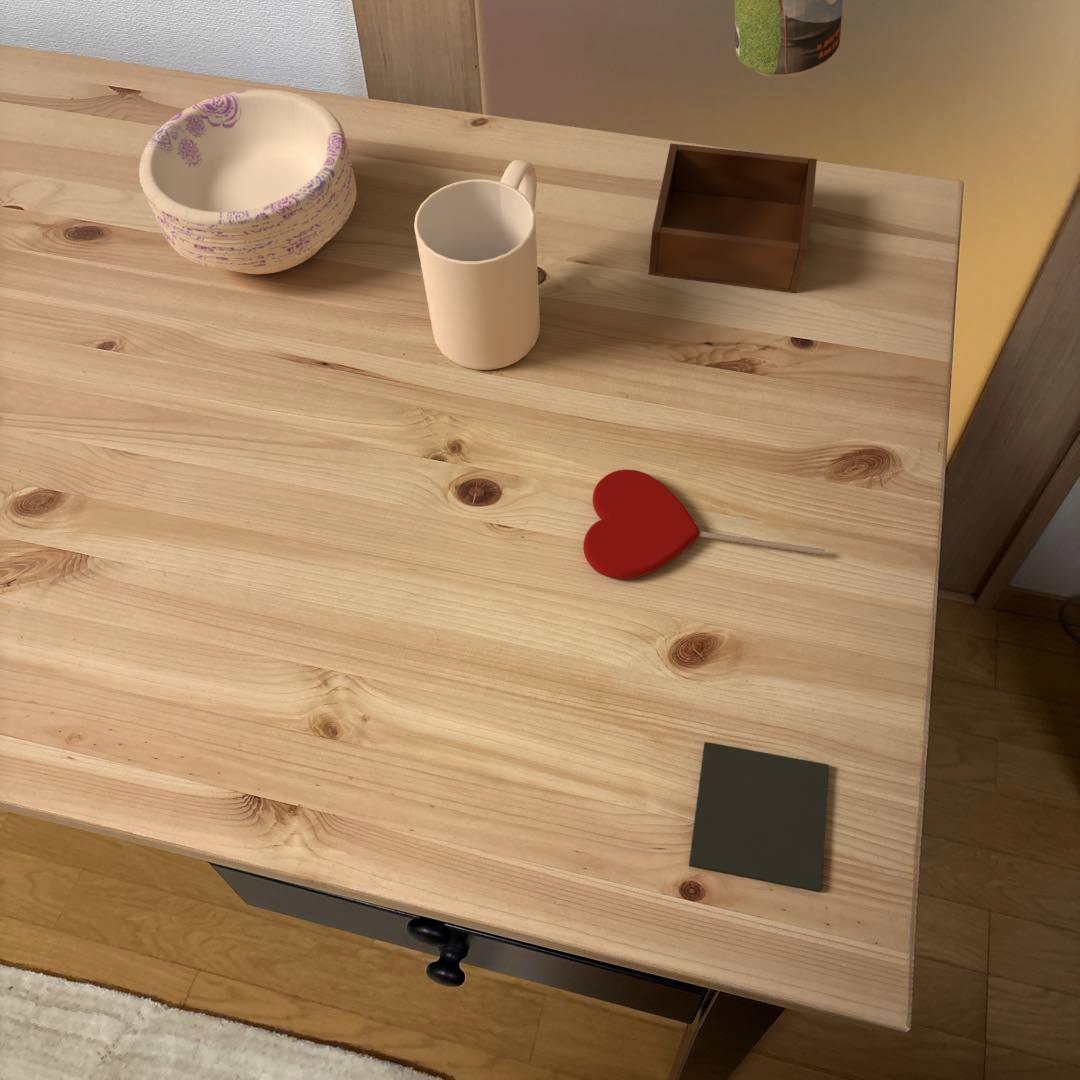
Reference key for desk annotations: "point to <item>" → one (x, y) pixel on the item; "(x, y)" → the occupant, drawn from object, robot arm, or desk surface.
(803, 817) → the coaster
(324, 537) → the desk surface
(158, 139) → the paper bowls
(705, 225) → the wooden box
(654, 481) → the lollipop
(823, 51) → the beverage can
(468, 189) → the mug
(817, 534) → the desk surface
